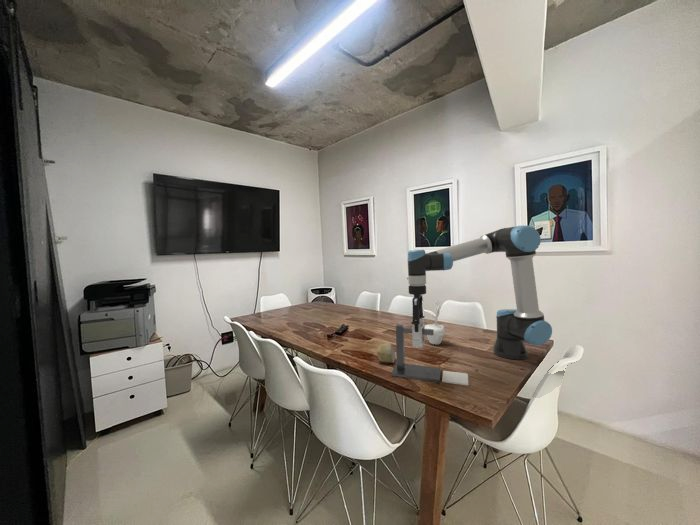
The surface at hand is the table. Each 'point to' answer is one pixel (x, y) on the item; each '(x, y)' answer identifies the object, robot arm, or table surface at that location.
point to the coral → (386, 353)
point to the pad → (455, 378)
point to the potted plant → (435, 328)
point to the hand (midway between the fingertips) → (418, 335)
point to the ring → (420, 342)
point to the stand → (409, 369)
